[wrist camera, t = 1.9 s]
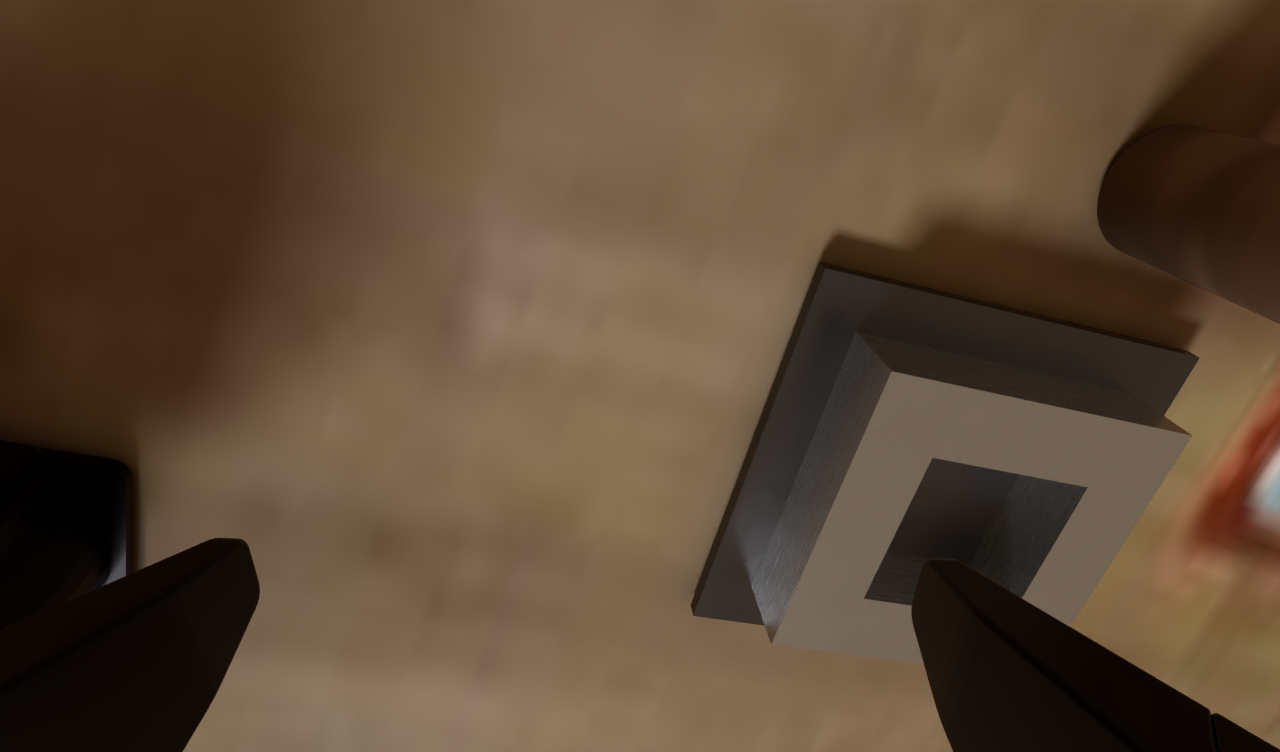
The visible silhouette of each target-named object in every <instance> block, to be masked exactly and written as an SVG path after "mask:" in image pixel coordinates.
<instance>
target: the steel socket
mask: <svg viewBox="0 0 1280 752" xmlns="http://www.w3.org/2000/svg"><path fill="white" fill-rule="evenodd" d="M1198 359H1199V357H1197V356H1196V355H1194V354H1192V353H1190V352H1189V351H1186V350H1182V349H1178V348H1174V347H1170V346H1166V345H1161V344H1157V343H1153V342H1149V341H1145V340H1141V339H1136V338H1132V337H1128V336H1124V335H1120V334H1116V333H1112V332H1107V331H1103V330H1099V329H1095V328H1091V327H1087V326H1082V325H1078V324H1074V323H1070V322H1066V321H1062V320H1058V319H1053V318H1049V317H1045V316H1041V315H1037V314H1033V313H1028V312H1024V311H1020V310H1016V309H1012V308H1008V307H1003V306H999V305H995V304H991V303H987V302H983V301H979V300H974V299H970V298H966V297H962V296H958V295H954V294H949V293H945V292H941V291H937V290H933V289H929V288H925V287H920V286H916V285H912V284H908V283H904V282H900V281H895V280H891V279H887V278H883V277H879V276H875V275H871V274H866V273H862V272H858V271H854V270H850V269H846V268H841V267H837V266H833V265H829V264H825V263H821V262H819V265H818V267H817V270H816V273H815V275H814V278H813V281H812V283H811V286H810V289H809V291H808V294H807V297H806V299H805V302H804V305H803V307H802V310H801V313H800V315H799V318H798V321H797V323H796V326H795V329H794V331H793V334H792V337H791V339H790V342H789V345H788V347H787V350H786V353H785V355H784V358H783V361H782V363H781V366H780V369H779V371H778V374H777V377H776V379H775V382H774V385H773V387H772V390H771V393H770V395H769V398H768V401H767V403H766V406H765V409H764V411H763V414H762V417H761V419H760V422H759V425H758V427H757V430H756V433H755V435H754V438H753V440H752V443H751V446H750V448H749V451H748V454H747V456H746V459H745V462H744V464H743V467H742V470H741V472H740V475H739V478H738V480H737V483H736V486H735V488H734V491H733V494H732V496H731V499H730V502H729V504H728V507H727V510H726V512H725V515H724V518H723V520H722V523H721V526H720V528H719V531H718V534H717V536H716V539H715V542H714V544H713V547H712V550H711V552H710V555H709V558H708V560H707V563H706V566H705V568H704V571H703V574H702V576H701V579H700V582H699V584H698V587H697V590H696V592H695V595H694V598H693V600H692V603H691V608H692V612H693V616H699V617H706V618H714V619H721V620H729V621H736V622H744V623H751V624H758V625H765V628H766V631H767V633H768V636H769V639H770V642H771V644H772V645H779V646H787V647H795V648H802V649H810V650H818V651H826V652H833V653H841V654H849V655H856V656H864V657H872V658H880V659H887V660H895V661H903V662H911V663H918V664H924V662H923V659H922V655H921V652H920V648H919V645H918V641H917V638H916V634H915V631H914V627H913V623H912V616H911V608H912V601H913V597H914V593H915V590H916V586H917V582H918V578H919V574H920V571H921V567H922V565H923V563H924V561H926V560H927V559H929V558H940V559H955V560H958V561H960V562H961V563H963V564H965V565H966V566H968V567H970V568H971V569H973V570H975V571H977V572H978V573H980V574H982V575H983V576H985V577H987V578H988V579H990V580H992V581H993V582H995V583H997V584H998V585H1000V586H1002V587H1004V588H1005V589H1007V590H1009V591H1010V592H1012V593H1014V594H1015V595H1017V596H1019V597H1020V598H1022V599H1024V600H1025V601H1027V602H1029V603H1031V604H1032V605H1034V606H1036V607H1037V608H1039V609H1041V610H1042V611H1044V612H1046V613H1047V614H1049V615H1051V616H1052V617H1054V618H1056V619H1057V620H1059V621H1061V622H1063V623H1064V624H1066V625H1068V626H1069V627H1070V626H1071V625H1072V623H1073V622H1074V620H1075V618H1076V617H1077V615H1078V614H1079V612H1080V611H1081V609H1082V607H1083V606H1084V604H1085V603H1086V601H1087V600H1088V598H1089V597H1090V595H1091V593H1092V592H1093V590H1094V589H1095V587H1096V586H1097V584H1098V582H1099V581H1100V579H1101V578H1102V576H1103V575H1104V573H1105V571H1106V570H1107V568H1108V567H1109V565H1110V564H1111V562H1112V561H1113V559H1114V557H1115V556H1116V554H1117V553H1118V551H1119V550H1120V548H1121V546H1122V545H1123V543H1124V542H1125V540H1126V539H1127V537H1128V535H1129V534H1130V532H1131V531H1132V529H1133V528H1134V526H1135V525H1136V523H1137V521H1138V520H1139V518H1140V517H1141V515H1142V514H1143V512H1144V510H1145V509H1146V507H1147V506H1148V504H1149V503H1150V501H1151V499H1152V498H1153V496H1154V495H1155V493H1156V492H1157V490H1158V489H1159V487H1160V485H1161V484H1162V482H1163V481H1164V479H1165V478H1166V476H1167V474H1168V473H1169V471H1170V470H1171V468H1172V467H1173V465H1174V463H1175V462H1176V460H1177V459H1178V457H1179V456H1180V454H1181V453H1182V451H1183V449H1184V448H1185V446H1186V445H1187V443H1188V442H1189V440H1190V438H1191V437H1192V435H1191V434H1189V433H1188V432H1186V431H1185V430H1183V429H1182V428H1181V427H1179V426H1178V425H1176V424H1175V423H1173V422H1172V421H1171V420H1169V419H1168V418H1166V417H1165V416H1164V415H1165V413H1166V412H1167V410H1168V408H1169V407H1170V405H1171V403H1172V402H1173V400H1174V398H1175V397H1176V395H1177V394H1178V392H1179V390H1180V389H1181V387H1182V385H1183V384H1184V382H1185V381H1186V379H1187V377H1188V376H1189V374H1190V372H1191V371H1192V369H1193V368H1194V366H1195V364H1196V363H1197V361H1198Z"/></svg>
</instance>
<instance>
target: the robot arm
mask: <svg viewBox="0 0 1280 752" xmlns="http://www.w3.org/2000/svg"><path fill="white" fill-rule="evenodd" d="M103 474H106V475H108V476H111V477H112V478H113V479H114V480H115V482H111V481H108V480H107V479H106V478H104V476H103ZM132 495H133V477H132V473H131V470H130V469H129V468H128V467H127V465H125V464H124V463H122V462H121V461H118V460H114V459H110V458H103V457H97V456H90V455H84V454H77V453H71V452H64V451H58V450H51V449H45V448H38V447H34V446H31V445H26V444H19V443H13V442H6V441H0V752H183V750H184V748H185V747H186V745H187V743H188V742H189V740H190V738H191V737H192V735H193V733H194V732H195V730H196V728H197V727H198V725H199V723H200V722H201V720H202V718H203V717H204V715H205V713H206V712H207V710H208V708H209V706H210V704H211V703H212V701H213V699H214V697H215V695H216V693H217V691H218V689H219V687H220V685H221V683H222V681H223V679H224V677H225V675H226V673H227V670H228V668H229V666H230V664H231V662H232V659H233V657H234V655H235V653H236V651H237V648H238V646H239V644H240V642H241V640H242V637H243V635H244V633H245V631H246V629H247V626H248V624H249V622H250V620H251V618H252V615H253V613H254V611H255V609H256V606H257V604H258V600H259V594H260V586H259V581H258V577H257V574H256V570H255V567H254V563H253V560H252V556H251V553H250V549H249V546H248V544H247V543H246V542H245V541H244V540H242V539H237V538H214V539H210V540H208V541H205V542H203V543H201V544H198V545H196V546H194V547H191V548H189V549H187V550H185V551H182V552H180V553H178V554H175V555H173V556H171V557H168V558H166V559H164V560H162V561H159V562H157V563H155V564H152V565H150V566H148V567H145V568H143V569H141V570H138V571H136V572H134V573H132ZM911 616H912V623H913V627H914V631H915V634H916V638H917V641H918V645H919V648H920V652H921V655H922V659H923V662H924V666H925V670H926V673H927V677H928V680H929V684H930V687H931V691H932V694H933V698H934V701H935V705H936V708H937V711H938V714H939V717H940V720H941V723H942V725H943V728H944V730H945V733H946V735H947V738H948V740H949V743H950V745H951V747H952V750H953V752H1280V749H1278V748H1276V747H1274V746H1273V745H1271V744H1269V743H1267V742H1266V741H1264V740H1262V739H1260V738H1259V737H1257V736H1255V735H1253V734H1252V733H1250V732H1248V731H1247V730H1245V729H1243V728H1242V727H1240V726H1238V725H1237V724H1235V723H1233V722H1232V721H1230V720H1228V719H1227V718H1225V717H1223V716H1222V715H1220V714H1218V713H1214V714H1212V715H1211V712H1210V710H1209V709H1208V708H1206V707H1204V706H1203V705H1201V704H1199V703H1198V702H1196V701H1194V700H1192V699H1191V698H1189V697H1187V696H1186V695H1184V694H1182V693H1181V692H1179V691H1177V690H1176V689H1174V688H1172V687H1171V686H1169V685H1167V684H1165V683H1164V682H1162V681H1160V680H1159V679H1157V678H1155V677H1154V676H1152V675H1150V674H1149V673H1147V672H1145V671H1144V670H1142V669H1140V668H1138V667H1137V666H1135V665H1133V664H1132V663H1130V662H1128V661H1127V660H1125V659H1123V658H1122V657H1120V656H1118V655H1117V654H1115V653H1113V652H1111V651H1110V650H1108V649H1106V648H1105V647H1103V646H1101V645H1100V644H1098V643H1096V642H1095V641H1093V640H1091V639H1090V638H1088V637H1086V636H1084V635H1083V634H1081V633H1079V632H1078V631H1076V630H1074V629H1073V628H1071V627H1069V626H1068V625H1066V624H1064V623H1063V622H1061V621H1059V620H1057V619H1056V618H1054V617H1052V616H1051V615H1049V614H1047V613H1046V612H1044V611H1042V610H1041V609H1039V608H1037V607H1036V606H1034V605H1032V604H1031V603H1029V602H1027V601H1025V600H1024V599H1022V598H1020V597H1019V596H1017V595H1015V594H1014V593H1012V592H1010V591H1009V590H1007V589H1005V588H1004V587H1002V586H1000V585H998V584H997V583H995V582H993V581H992V580H990V579H988V578H987V577H985V576H983V575H982V574H980V573H978V572H977V571H975V570H973V569H971V568H970V567H968V566H966V565H965V564H963V563H961V562H960V561H958V560H955V559H940V558H929V559H927V560H926V561H924V563H923V565H922V567H921V571H920V574H919V578H918V582H917V586H916V590H915V593H914V597H913V601H912V608H911Z"/></svg>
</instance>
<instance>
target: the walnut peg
mask: <svg viewBox="0 0 1280 752" xmlns="http://www.w3.org/2000/svg"><path fill="white" fill-rule="evenodd" d="M1097 217H1098V223H1099V227H1100V229H1101V232H1102V234H1103V235H1104V237H1105V239H1106V240H1107V241H1108V242H1109V243H1110V244H1111V245H1112V246H1113V247H1115V248H1116V249H1118V250H1120V251H1122V252H1124V253H1126V254H1128V255H1130V256H1133V257H1135V258H1137V259H1139V260H1141V261H1143V262H1146V263H1148V264H1150V265H1152V266H1154V267H1157V268H1159V269H1161V270H1163V271H1165V272H1167V273H1170V274H1172V275H1174V276H1176V277H1178V278H1180V279H1183V280H1185V281H1187V282H1189V283H1191V284H1194V285H1196V286H1198V287H1200V288H1202V289H1204V290H1207V291H1209V292H1211V293H1213V294H1215V295H1218V296H1220V297H1222V298H1224V299H1226V300H1228V301H1231V302H1233V303H1235V304H1237V305H1239V306H1242V307H1244V308H1246V309H1248V310H1250V311H1252V312H1255V313H1257V314H1259V315H1261V316H1263V317H1265V318H1268V319H1270V320H1272V321H1274V322H1276V323H1279V324H1280V144H1275V143H1270V142H1265V141H1261V140H1256V139H1251V138H1247V137H1242V136H1237V135H1233V134H1228V133H1223V132H1219V131H1214V130H1209V129H1205V128H1200V127H1195V126H1191V125H1171V126H1167V127H1163V128H1160V129H1157V130H1154V131H1152V132H1150V133H1148V134H1146V135H1145V136H1143V137H1141V138H1140V139H1138V140H1137V141H1136V142H1134V143H1133V144H1132V145H1130V146H1129V147H1128V148H1127V149H1126V150H1125V151H1124V152H1123V153H1122V154H1121V155H1120V157H1119V158H1118V159H1117V160H1116V161H1115V163H1114V164H1113V166H1112V167H1111V169H1110V170H1109V172H1108V174H1107V176H1106V178H1105V180H1104V182H1103V184H1102V187H1101V190H1100V193H1099V198H1098V205H1097Z"/></svg>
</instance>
